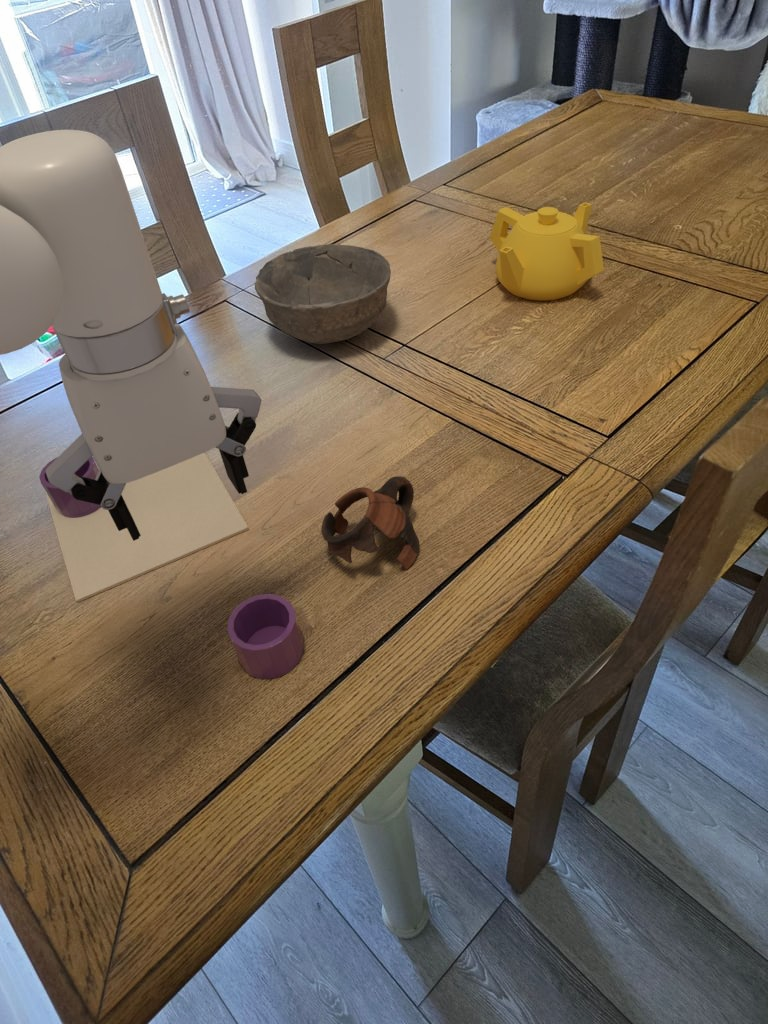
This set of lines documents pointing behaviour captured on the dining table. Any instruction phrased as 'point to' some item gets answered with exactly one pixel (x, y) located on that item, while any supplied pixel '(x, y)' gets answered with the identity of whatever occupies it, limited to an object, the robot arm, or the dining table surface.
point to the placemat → (148, 527)
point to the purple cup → (65, 500)
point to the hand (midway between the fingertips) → (186, 506)
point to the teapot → (545, 252)
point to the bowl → (324, 291)
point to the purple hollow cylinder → (266, 636)
